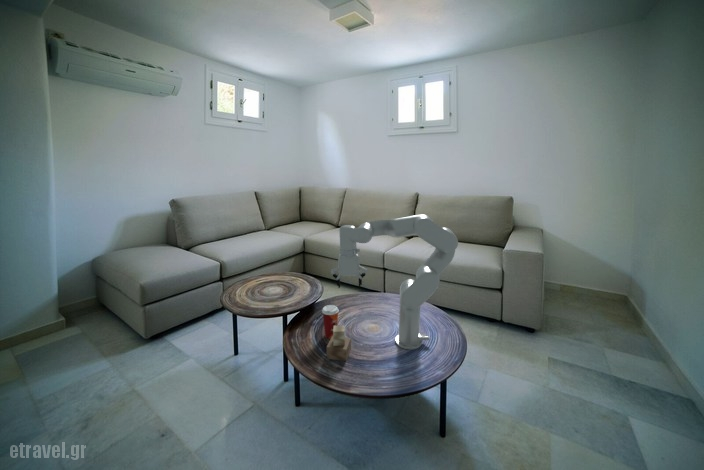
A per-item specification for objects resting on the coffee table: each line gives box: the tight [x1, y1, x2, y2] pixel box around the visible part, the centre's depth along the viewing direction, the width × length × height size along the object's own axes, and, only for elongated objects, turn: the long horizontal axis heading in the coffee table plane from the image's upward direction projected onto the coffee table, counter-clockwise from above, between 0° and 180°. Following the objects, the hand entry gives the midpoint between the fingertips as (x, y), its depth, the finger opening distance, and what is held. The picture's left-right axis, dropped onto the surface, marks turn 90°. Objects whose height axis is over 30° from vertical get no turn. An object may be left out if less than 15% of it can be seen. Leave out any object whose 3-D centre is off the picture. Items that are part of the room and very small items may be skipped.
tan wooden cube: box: [326, 336, 352, 362], centre depth 137 cm, size 9×9×6 cm
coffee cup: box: [321, 304, 339, 339], centre depth 151 cm, size 8×8×15 cm
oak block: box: [333, 325, 346, 346], centre depth 136 cm, size 5×5×7 cm
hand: (349, 286), depth 143 cm, fingers open, 9 cm apart
